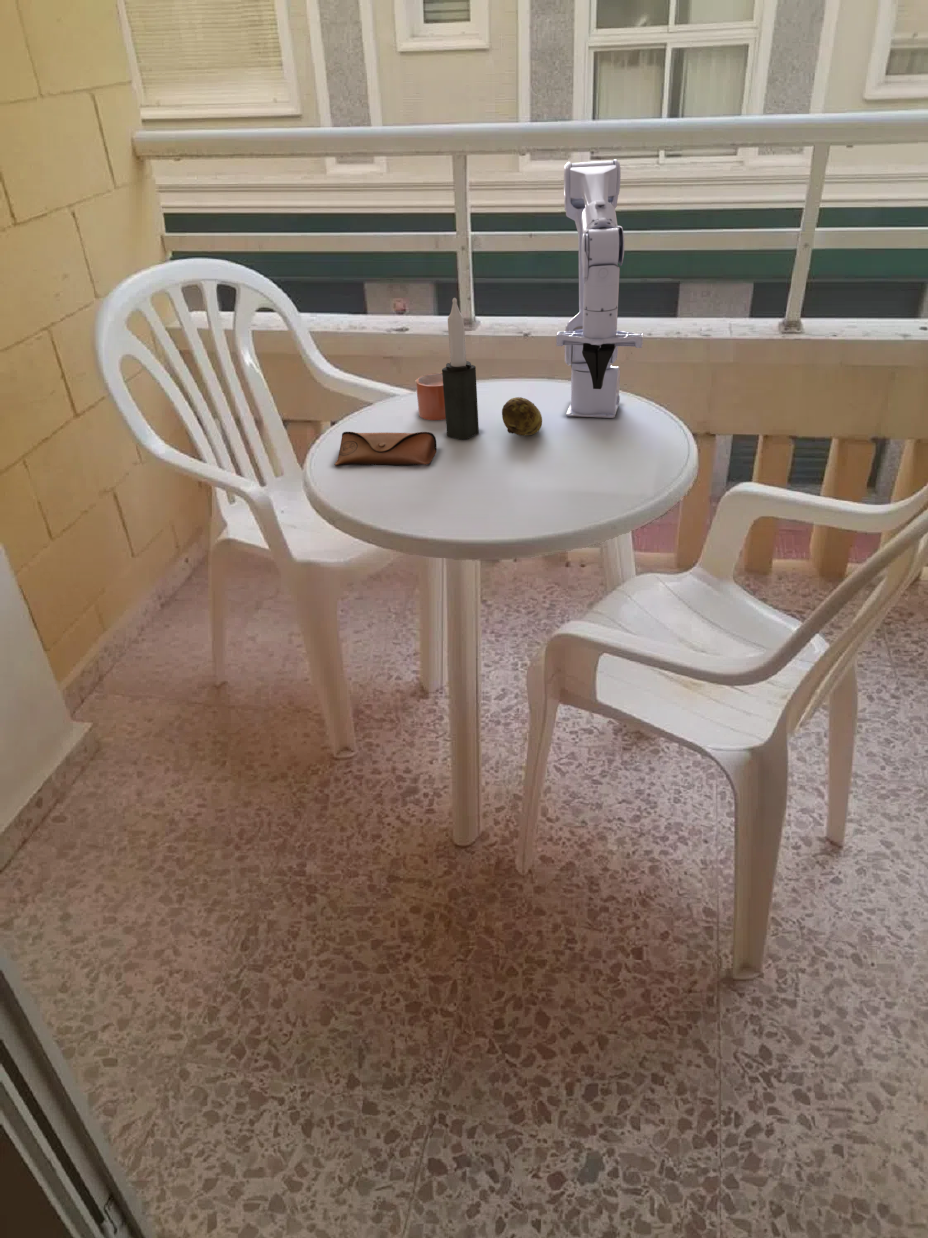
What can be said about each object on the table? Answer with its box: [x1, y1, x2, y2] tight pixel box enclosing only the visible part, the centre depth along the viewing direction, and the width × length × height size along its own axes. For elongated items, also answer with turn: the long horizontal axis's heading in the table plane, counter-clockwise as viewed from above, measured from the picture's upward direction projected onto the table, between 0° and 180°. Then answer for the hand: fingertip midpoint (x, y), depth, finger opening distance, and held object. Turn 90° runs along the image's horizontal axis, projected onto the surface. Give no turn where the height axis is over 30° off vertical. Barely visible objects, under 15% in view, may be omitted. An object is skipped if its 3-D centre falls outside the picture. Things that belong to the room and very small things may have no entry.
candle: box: [441, 297, 480, 441], centre depth 151 cm, size 5×5×25 cm
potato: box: [501, 396, 543, 436], centre depth 153 cm, size 8×13×8 cm, turn 150°
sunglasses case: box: [334, 431, 438, 467], centre depth 150 cm, size 18×7×7 cm
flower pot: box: [415, 372, 446, 421], centre depth 166 cm, size 8×8×7 cm
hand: (597, 387), depth 145 cm, fingers closed
